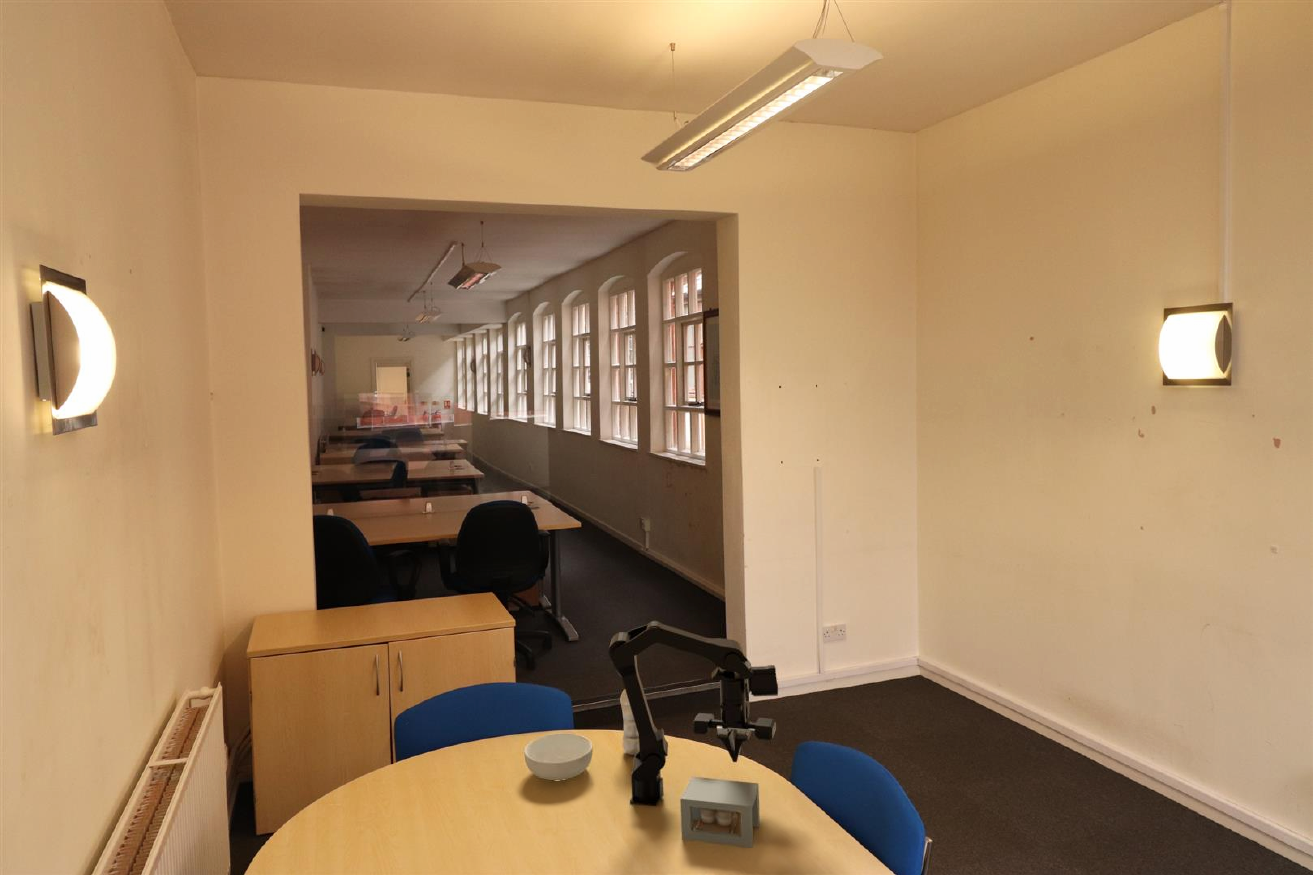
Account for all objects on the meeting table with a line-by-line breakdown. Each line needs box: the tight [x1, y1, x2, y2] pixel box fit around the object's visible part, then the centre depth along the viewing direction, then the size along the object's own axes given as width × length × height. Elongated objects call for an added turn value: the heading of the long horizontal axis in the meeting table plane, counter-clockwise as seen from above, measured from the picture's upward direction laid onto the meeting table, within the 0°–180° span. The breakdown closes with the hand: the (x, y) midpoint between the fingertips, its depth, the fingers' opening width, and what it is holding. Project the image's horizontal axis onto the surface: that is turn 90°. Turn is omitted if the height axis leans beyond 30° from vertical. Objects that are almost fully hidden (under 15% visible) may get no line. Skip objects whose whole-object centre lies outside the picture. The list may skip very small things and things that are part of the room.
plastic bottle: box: [619, 688, 640, 756], centre depth 226 cm, size 6×7×20 cm
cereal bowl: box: [523, 732, 594, 781], centre depth 216 cm, size 17×17×7 cm
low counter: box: [679, 776, 761, 849], centre depth 187 cm, size 15×10×9 cm, turn 73°
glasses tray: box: [694, 808, 738, 834], centre depth 193 cm, size 18×7×5 cm, turn 159°
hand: (735, 761), depth 202 cm, fingers closed
